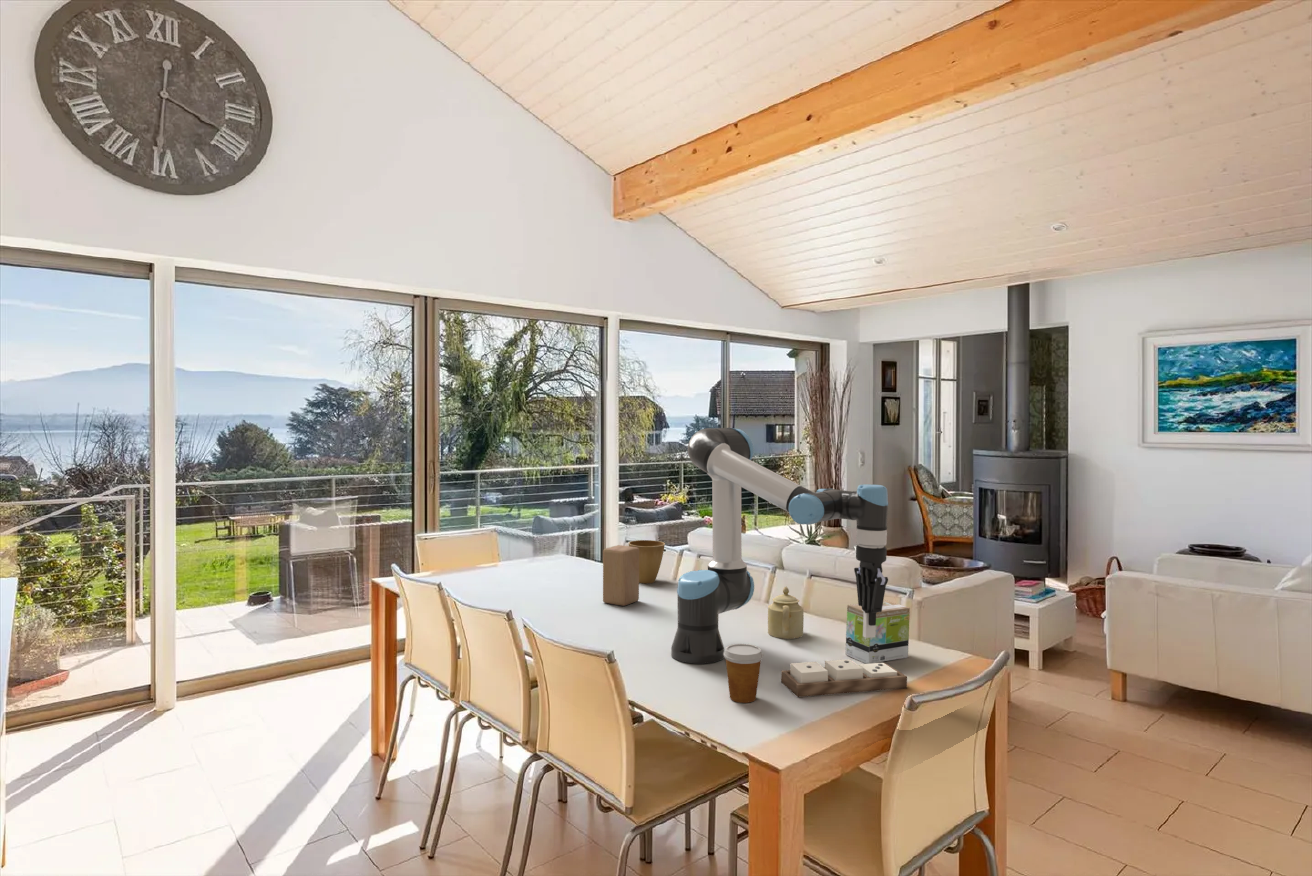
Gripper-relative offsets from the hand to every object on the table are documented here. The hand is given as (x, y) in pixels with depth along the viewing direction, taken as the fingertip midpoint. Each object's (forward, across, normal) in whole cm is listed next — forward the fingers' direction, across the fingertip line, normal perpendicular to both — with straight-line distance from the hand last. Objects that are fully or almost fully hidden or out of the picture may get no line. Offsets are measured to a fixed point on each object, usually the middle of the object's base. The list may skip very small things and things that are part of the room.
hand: (869, 636), depth 191 cm
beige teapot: (+13, +43, +3) cm, 45 cm away
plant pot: (+13, +125, +30) cm, 129 cm away
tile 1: (+10, 0, +17) cm, 19 cm away
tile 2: (+10, 0, +7) cm, 12 cm away
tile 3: (+11, 0, -2) cm, 12 cm away
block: (+13, +94, +46) cm, 106 cm away
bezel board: (+12, 0, +7) cm, 14 cm away
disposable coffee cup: (+12, -3, +35) cm, 37 cm away
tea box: (+12, +18, -13) cm, 26 cm away
